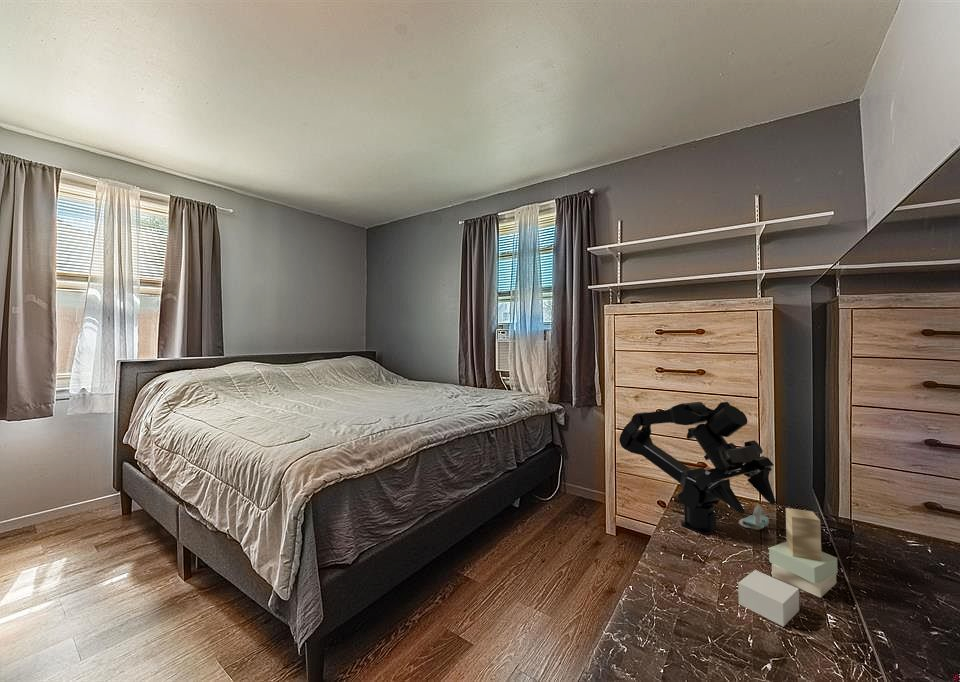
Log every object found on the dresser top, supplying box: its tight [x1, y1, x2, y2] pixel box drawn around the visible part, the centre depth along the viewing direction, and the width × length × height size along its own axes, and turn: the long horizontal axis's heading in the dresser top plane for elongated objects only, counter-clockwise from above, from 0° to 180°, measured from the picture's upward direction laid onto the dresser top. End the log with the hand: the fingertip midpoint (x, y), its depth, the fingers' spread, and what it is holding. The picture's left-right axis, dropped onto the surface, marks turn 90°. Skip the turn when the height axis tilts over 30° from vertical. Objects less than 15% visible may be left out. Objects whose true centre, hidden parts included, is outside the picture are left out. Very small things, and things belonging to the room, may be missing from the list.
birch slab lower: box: [771, 563, 837, 599], centre depth 79 cm, size 8×8×3 cm
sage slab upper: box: [768, 540, 839, 583], centre depth 79 cm, size 8×8×3 cm
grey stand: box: [737, 569, 800, 628], centre depth 71 cm, size 7×7×4 cm
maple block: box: [785, 507, 822, 561], centre depth 79 cm, size 4×4×8 cm
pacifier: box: [738, 503, 770, 531], centre depth 101 cm, size 7×6×6 cm
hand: (759, 508), depth 87 cm, fingers open, 9 cm apart
